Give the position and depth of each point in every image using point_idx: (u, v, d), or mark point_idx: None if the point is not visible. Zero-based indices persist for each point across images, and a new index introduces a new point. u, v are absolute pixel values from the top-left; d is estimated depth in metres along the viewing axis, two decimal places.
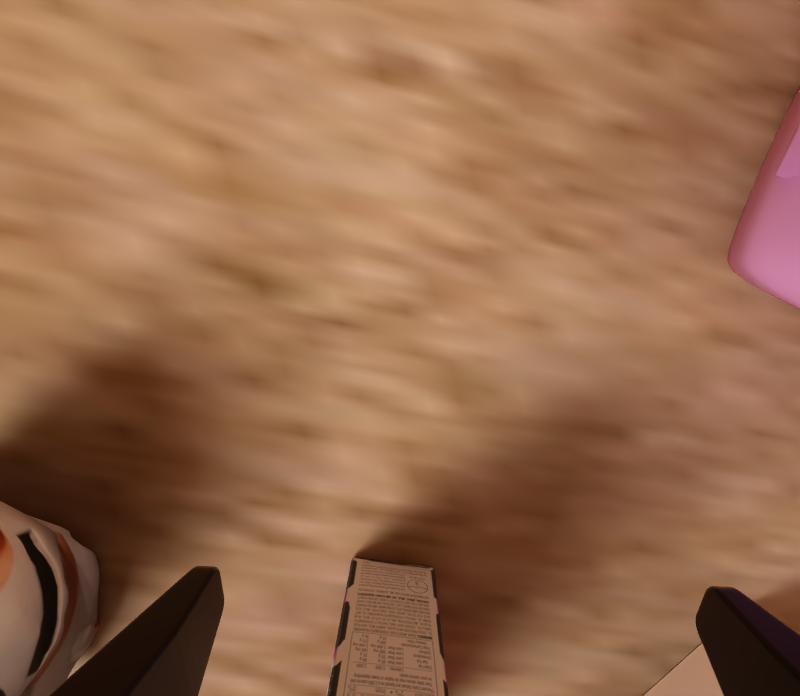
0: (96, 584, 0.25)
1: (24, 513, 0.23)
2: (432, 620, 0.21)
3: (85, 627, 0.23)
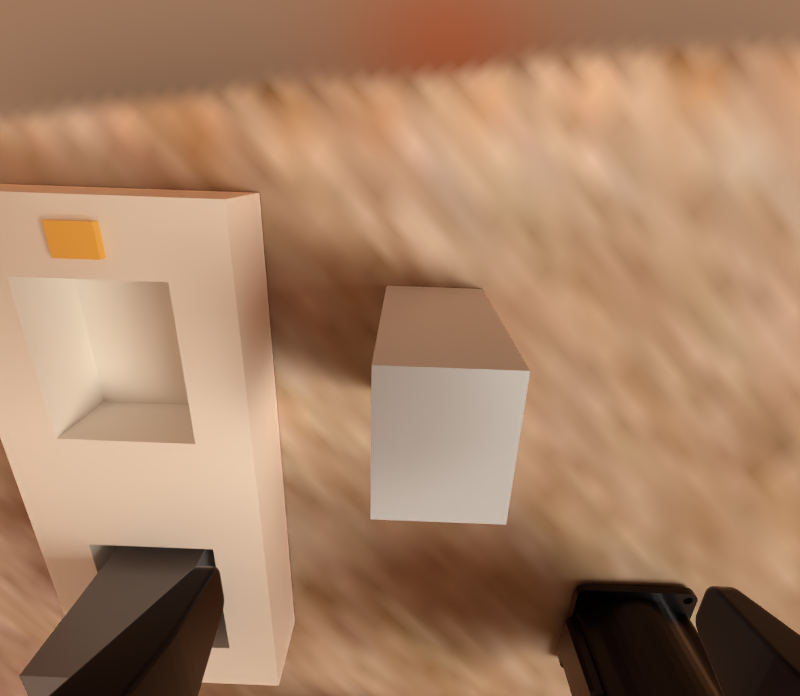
0: None
1: None
2: None
3: None
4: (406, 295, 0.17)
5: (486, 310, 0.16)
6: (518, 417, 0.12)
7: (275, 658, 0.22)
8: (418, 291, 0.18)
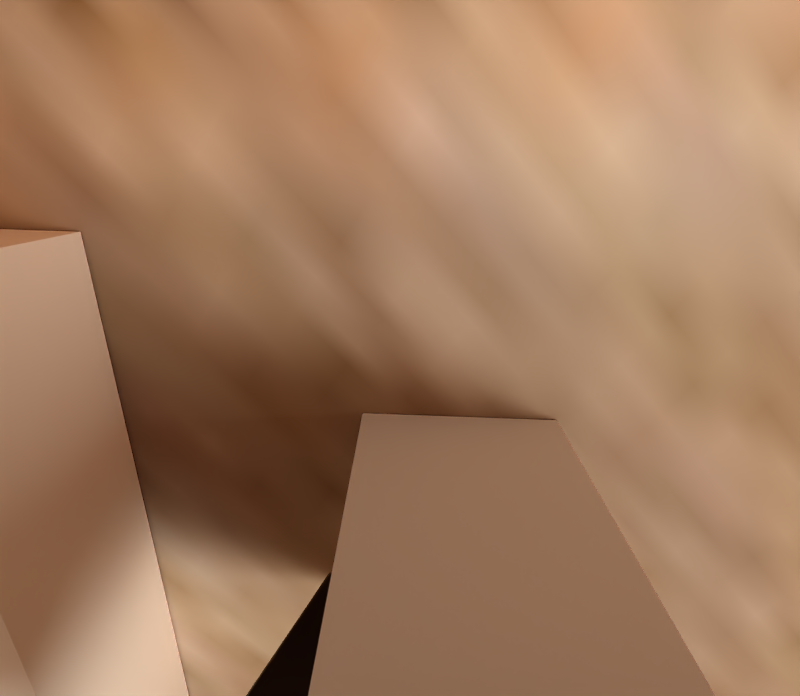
0: None
1: None
2: None
3: None
4: (402, 456, 0.08)
5: (598, 526, 0.06)
6: None
7: None
8: (427, 437, 0.09)
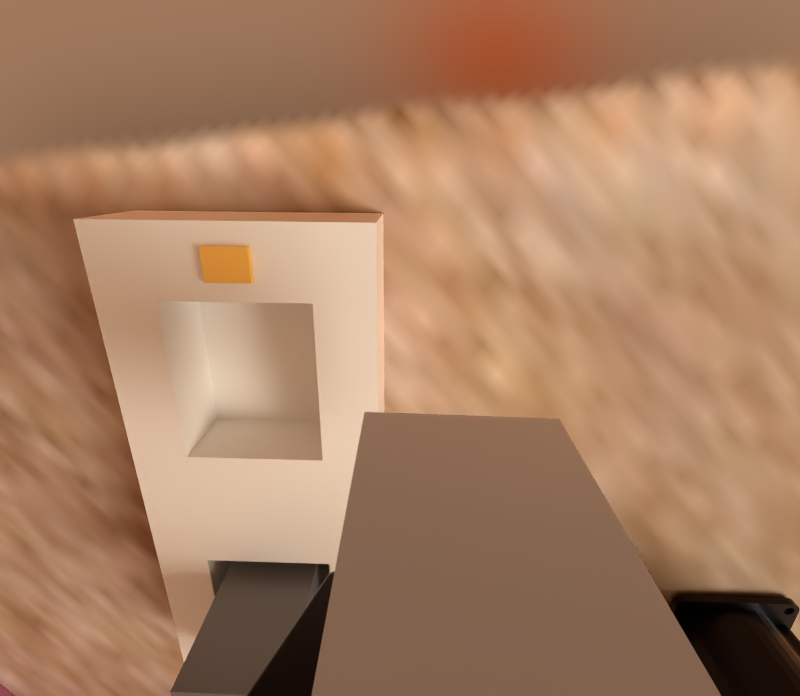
0: None
1: None
2: None
3: None
4: (404, 455, 0.08)
5: (601, 525, 0.06)
6: None
7: None
8: (429, 436, 0.08)
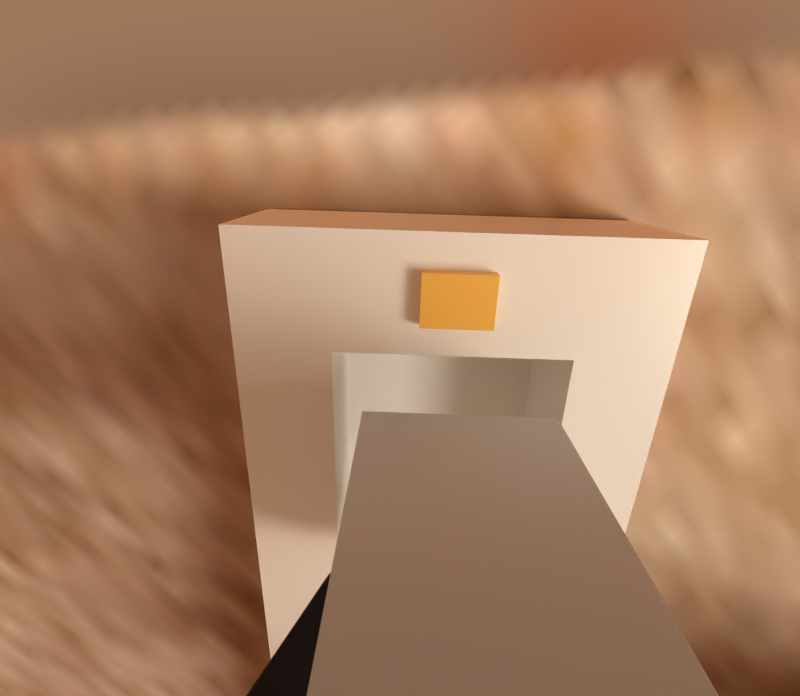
0: None
1: None
2: None
3: None
4: (402, 454, 0.08)
5: (599, 524, 0.06)
6: None
7: None
8: (427, 435, 0.08)
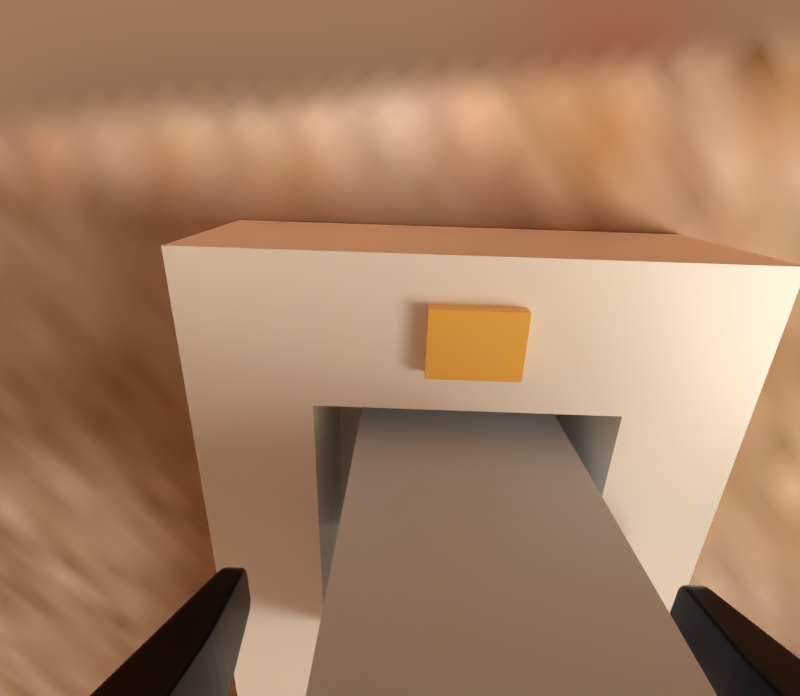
0: None
1: None
2: None
3: None
4: None
5: (556, 446, 0.08)
6: None
7: None
8: None
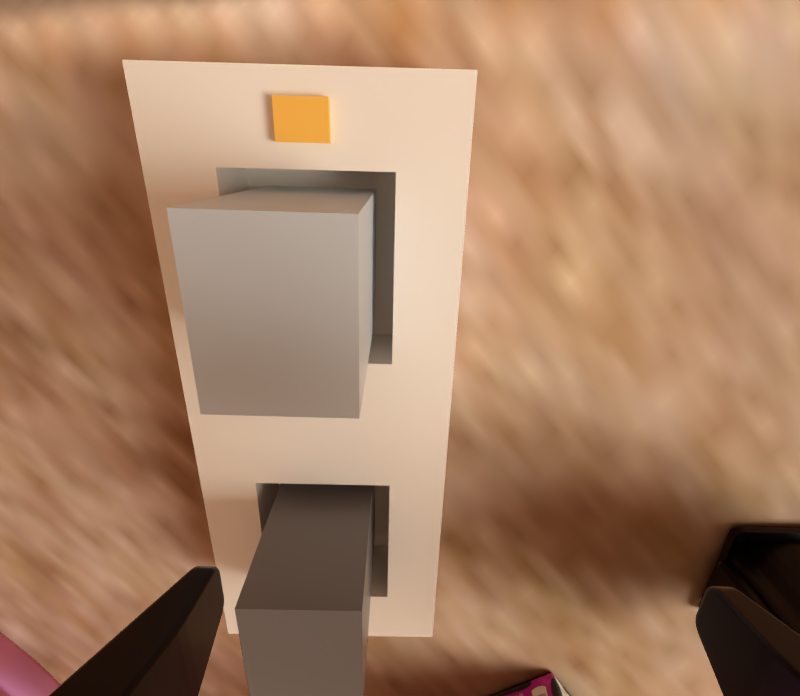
0: None
1: None
2: None
3: None
4: (282, 188, 0.15)
5: (362, 195, 0.14)
6: (354, 278, 0.10)
7: (434, 606, 0.21)
8: (300, 188, 0.16)
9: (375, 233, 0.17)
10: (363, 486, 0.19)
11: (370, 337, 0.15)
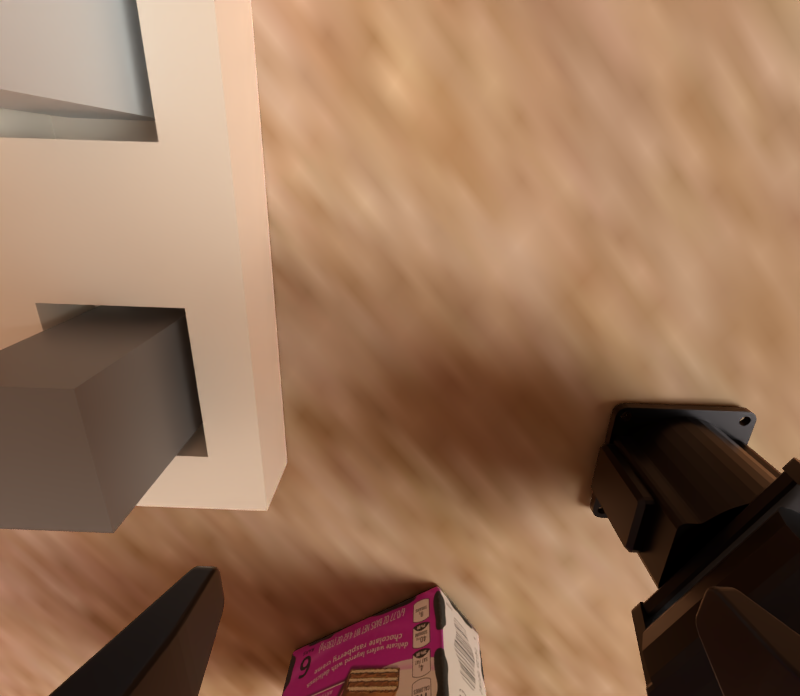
0: None
1: None
2: None
3: None
4: None
5: None
6: None
7: (262, 470, 0.19)
8: None
9: None
10: (168, 319, 0.17)
11: (120, 98, 0.14)
